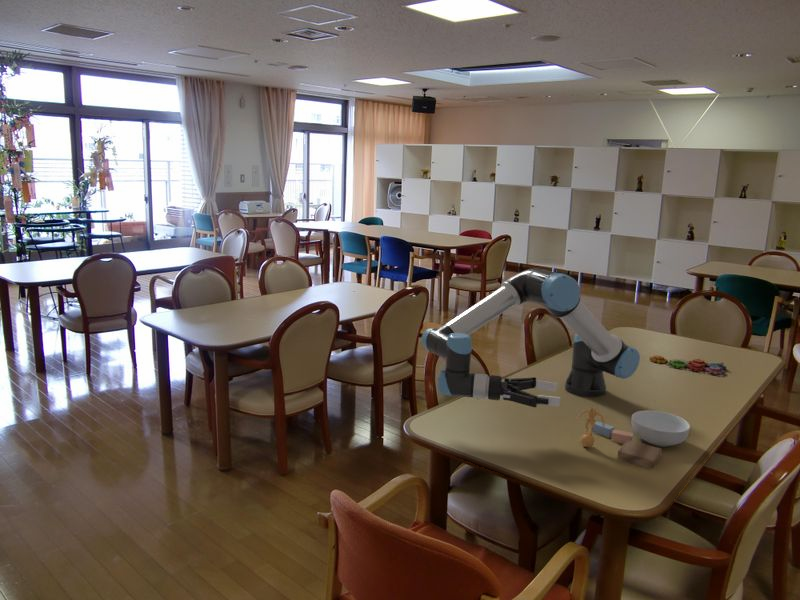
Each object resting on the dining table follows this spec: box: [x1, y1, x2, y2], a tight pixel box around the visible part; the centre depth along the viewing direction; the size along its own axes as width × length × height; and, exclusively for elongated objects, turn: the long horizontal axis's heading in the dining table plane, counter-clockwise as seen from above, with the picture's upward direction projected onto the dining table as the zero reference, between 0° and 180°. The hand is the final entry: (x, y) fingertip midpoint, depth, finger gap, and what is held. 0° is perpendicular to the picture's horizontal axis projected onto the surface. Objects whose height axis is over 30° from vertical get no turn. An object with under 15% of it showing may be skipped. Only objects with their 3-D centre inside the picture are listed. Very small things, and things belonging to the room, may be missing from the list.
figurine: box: [576, 407, 605, 448], centre depth 191 cm, size 8×6×12 cm
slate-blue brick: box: [592, 420, 615, 439], centre depth 201 cm, size 6×3×3 cm, turn 44°
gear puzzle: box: [648, 354, 727, 378], centre depth 277 cm, size 31×16×4 cm, turn 58°
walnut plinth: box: [617, 440, 663, 470], centre depth 185 cm, size 10×10×3 cm
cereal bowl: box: [630, 409, 691, 447], centre depth 196 cm, size 17×17×7 cm
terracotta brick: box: [610, 428, 635, 445], centre depth 196 cm, size 6×3×3 cm, turn 63°
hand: (558, 394), depth 191 cm, fingers open, 13 cm apart
